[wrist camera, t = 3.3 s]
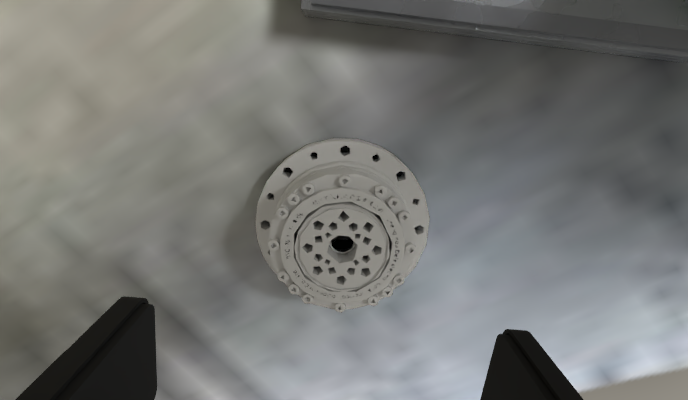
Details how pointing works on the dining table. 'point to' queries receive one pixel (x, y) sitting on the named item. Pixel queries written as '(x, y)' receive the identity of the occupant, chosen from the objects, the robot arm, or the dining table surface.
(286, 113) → the dining table surface
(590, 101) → the dining table surface
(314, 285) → the mechanical component
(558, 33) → the plate
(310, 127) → the dining table surface
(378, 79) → the dining table surface
